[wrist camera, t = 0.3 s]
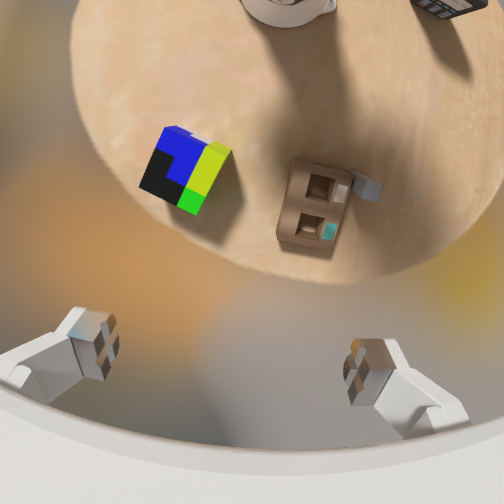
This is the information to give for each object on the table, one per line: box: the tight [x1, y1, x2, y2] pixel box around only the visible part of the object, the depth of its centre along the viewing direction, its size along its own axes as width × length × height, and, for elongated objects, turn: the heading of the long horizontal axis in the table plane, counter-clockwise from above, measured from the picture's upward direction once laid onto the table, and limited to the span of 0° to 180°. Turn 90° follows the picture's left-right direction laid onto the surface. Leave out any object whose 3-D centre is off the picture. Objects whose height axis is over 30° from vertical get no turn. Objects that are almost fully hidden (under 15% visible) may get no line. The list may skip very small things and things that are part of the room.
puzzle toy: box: [139, 125, 232, 215], centre depth 48 cm, size 10×10×10 cm
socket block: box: [276, 159, 353, 251], centre depth 53 cm, size 14×10×4 cm
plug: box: [349, 170, 383, 203], centre depth 49 cm, size 3×3×9 cm
